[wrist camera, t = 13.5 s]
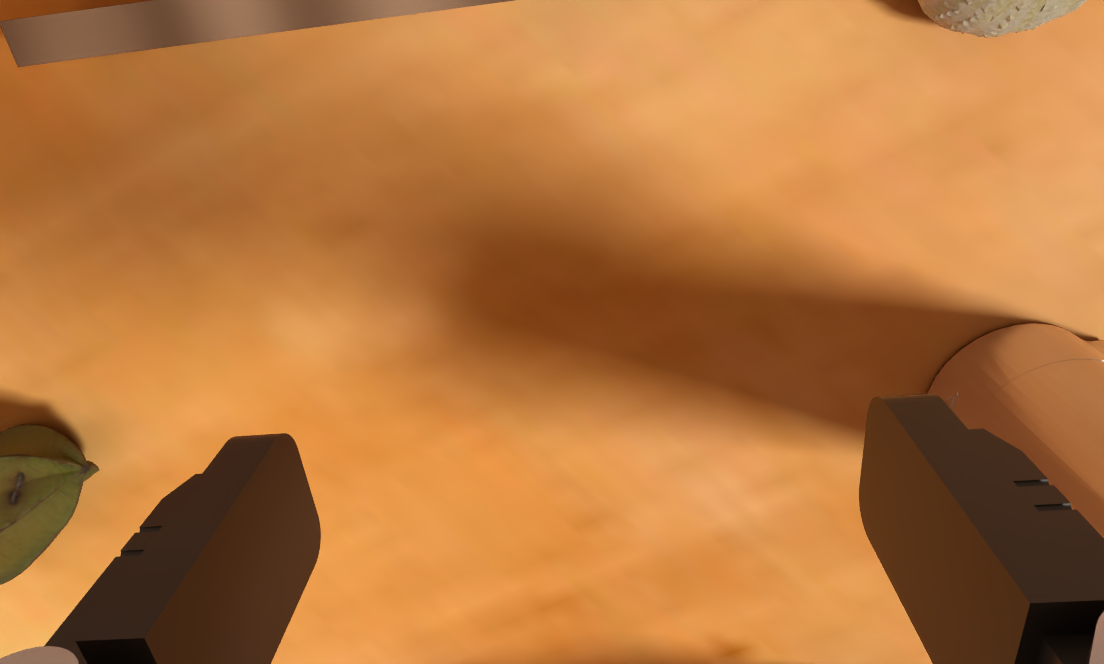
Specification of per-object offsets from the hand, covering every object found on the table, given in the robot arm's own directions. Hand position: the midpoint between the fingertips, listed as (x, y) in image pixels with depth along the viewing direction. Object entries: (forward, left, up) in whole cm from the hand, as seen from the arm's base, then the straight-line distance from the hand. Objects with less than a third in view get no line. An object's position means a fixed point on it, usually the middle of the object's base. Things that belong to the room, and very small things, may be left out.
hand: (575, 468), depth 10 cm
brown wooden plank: (+8, -6, -26) cm, 28 cm away
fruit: (+33, +16, -26) cm, 45 cm away
